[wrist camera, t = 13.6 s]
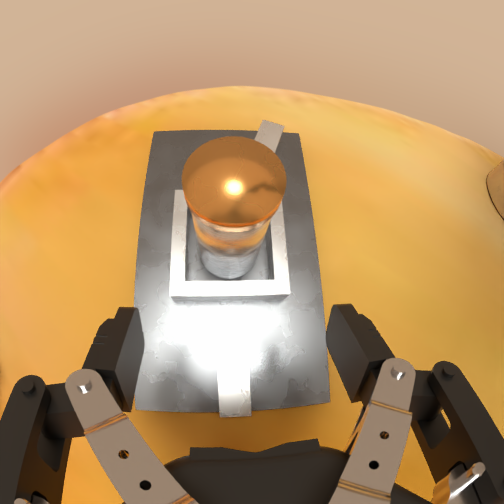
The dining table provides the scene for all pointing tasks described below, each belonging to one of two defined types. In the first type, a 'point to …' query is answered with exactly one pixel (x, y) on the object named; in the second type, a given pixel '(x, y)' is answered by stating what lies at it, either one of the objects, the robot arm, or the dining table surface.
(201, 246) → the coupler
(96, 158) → the dining table surface
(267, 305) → the coupling base
